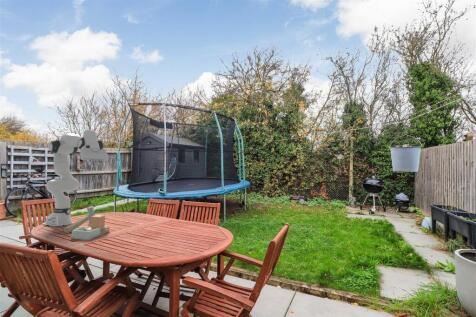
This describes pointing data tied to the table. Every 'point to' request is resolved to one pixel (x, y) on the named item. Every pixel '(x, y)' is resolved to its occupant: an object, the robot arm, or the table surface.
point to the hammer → (81, 221)
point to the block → (98, 221)
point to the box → (85, 234)
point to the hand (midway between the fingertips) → (96, 165)
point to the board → (102, 230)
